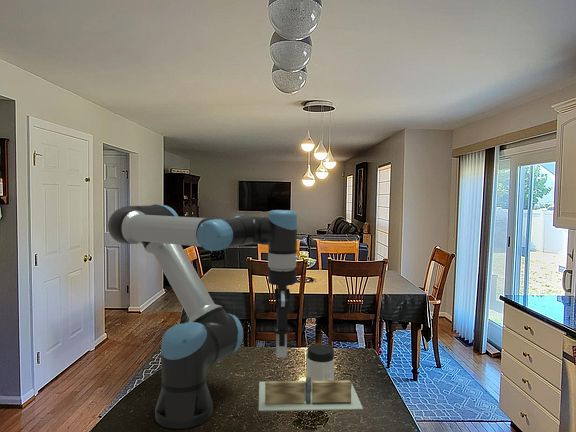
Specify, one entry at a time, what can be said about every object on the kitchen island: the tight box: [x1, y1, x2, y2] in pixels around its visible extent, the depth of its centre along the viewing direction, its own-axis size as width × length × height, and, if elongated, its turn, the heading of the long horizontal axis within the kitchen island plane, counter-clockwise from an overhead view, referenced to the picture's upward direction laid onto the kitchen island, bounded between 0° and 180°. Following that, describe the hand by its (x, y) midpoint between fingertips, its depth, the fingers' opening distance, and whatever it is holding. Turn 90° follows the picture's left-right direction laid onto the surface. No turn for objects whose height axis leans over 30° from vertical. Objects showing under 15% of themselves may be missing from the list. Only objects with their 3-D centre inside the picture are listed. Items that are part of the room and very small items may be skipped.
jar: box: [305, 343, 335, 391], centre depth 128 cm, size 9×8×12 cm
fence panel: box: [264, 380, 305, 403], centre depth 118 cm, size 11×2×6 cm, turn 93°
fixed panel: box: [312, 379, 353, 403], centre depth 119 cm, size 11×2×6 cm, turn 93°
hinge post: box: [305, 377, 311, 404], centre depth 119 cm, size 1×1×8 cm
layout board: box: [258, 380, 364, 412], centre depth 124 cm, size 29×17×1 cm, turn 93°
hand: (281, 354), depth 113 cm, fingers open, 2 cm apart
